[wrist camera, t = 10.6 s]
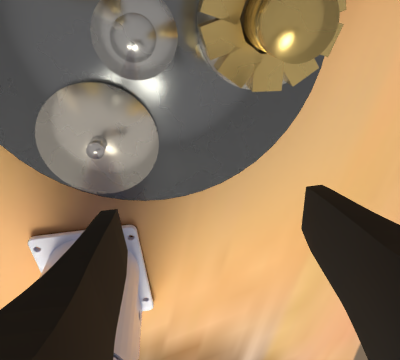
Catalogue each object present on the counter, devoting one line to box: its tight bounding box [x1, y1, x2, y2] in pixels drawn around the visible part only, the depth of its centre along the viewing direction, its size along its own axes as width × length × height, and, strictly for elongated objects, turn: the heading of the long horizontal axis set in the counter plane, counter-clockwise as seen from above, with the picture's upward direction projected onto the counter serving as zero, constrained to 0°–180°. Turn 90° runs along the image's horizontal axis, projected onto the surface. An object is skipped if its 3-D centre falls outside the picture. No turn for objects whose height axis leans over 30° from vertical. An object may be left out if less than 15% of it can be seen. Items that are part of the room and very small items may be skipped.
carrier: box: [0, 0, 324, 201], centre depth 15 cm, size 21×21×5 cm
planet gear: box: [197, 0, 346, 92], centre depth 14 cm, size 7×7×5 cm
